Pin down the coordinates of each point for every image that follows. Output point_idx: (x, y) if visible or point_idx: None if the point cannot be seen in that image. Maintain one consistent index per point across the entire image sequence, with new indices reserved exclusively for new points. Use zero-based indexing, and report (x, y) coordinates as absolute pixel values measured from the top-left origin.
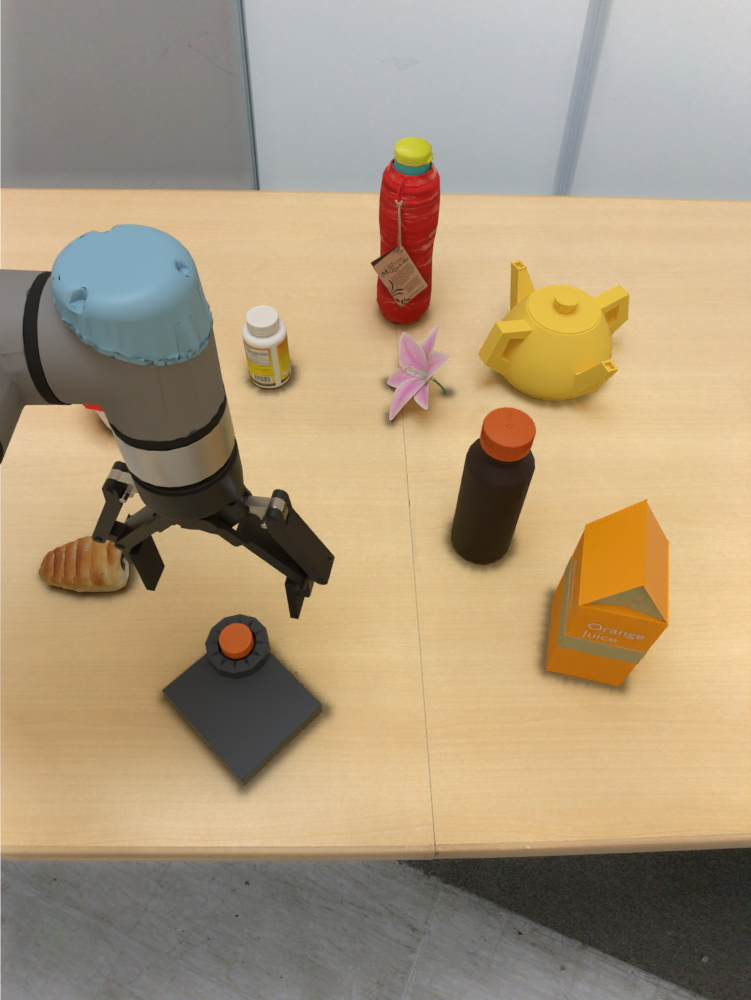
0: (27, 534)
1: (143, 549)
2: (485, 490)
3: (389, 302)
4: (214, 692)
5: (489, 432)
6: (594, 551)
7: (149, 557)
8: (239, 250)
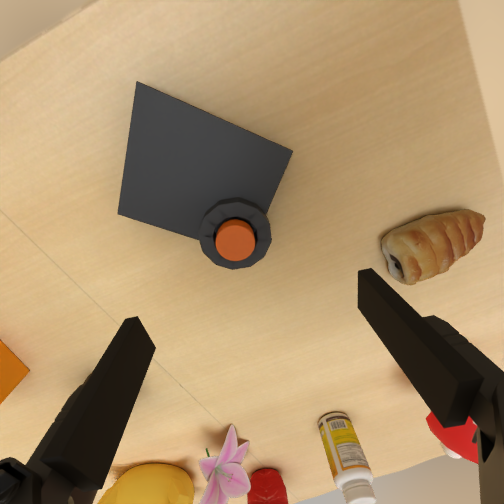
0: (497, 245)
1: (436, 382)
2: None
3: (272, 495)
4: (233, 175)
5: None
6: None
7: (402, 344)
8: (390, 468)
